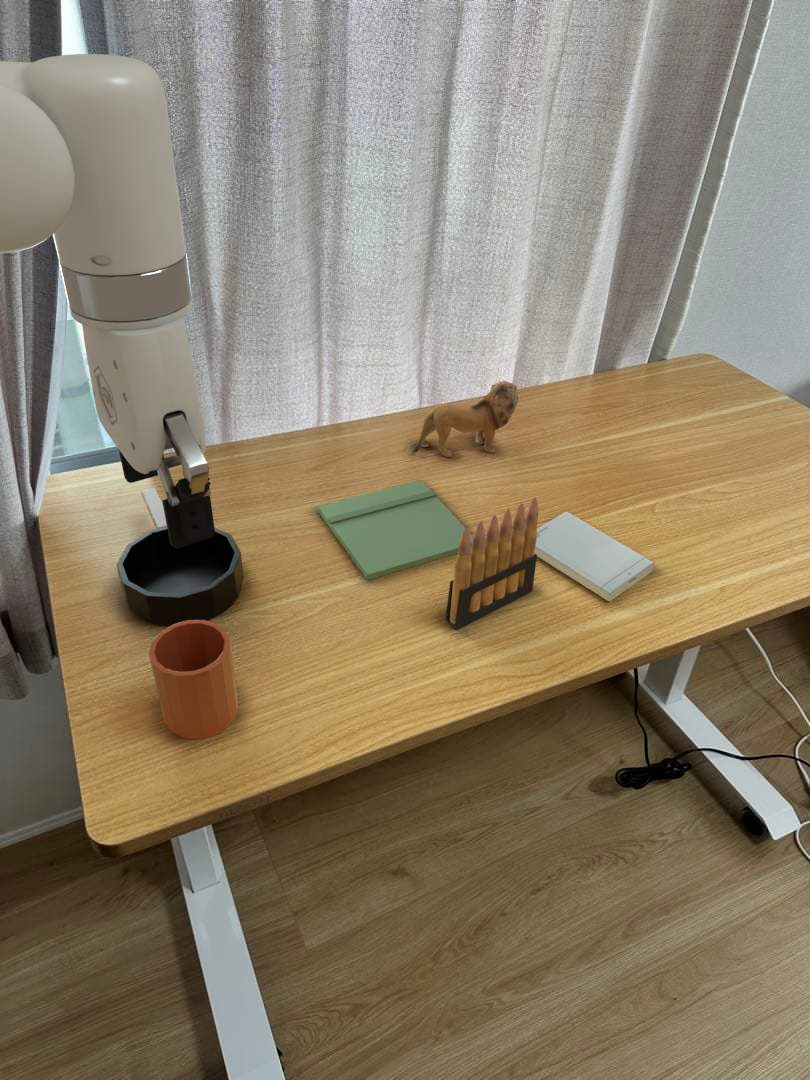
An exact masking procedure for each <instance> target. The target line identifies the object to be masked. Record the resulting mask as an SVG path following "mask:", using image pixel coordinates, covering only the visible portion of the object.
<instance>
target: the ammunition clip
mask: <svg viewBox="0 0 810 1080" xmlns="http://www.w3.org/2000/svg"><path fill="white" fill-rule="evenodd" d="M538 502H539V501H538V499H537V498H536V497H533V499H531V501H530V504H529V505H528V507H527V510H526V508H525V505H524V503H523V502H522V503H520V504H519V505H518V506H517V508H516V511H515V513H514V517H513V516H512V512H511V510H510V509H509V508H508V509H506V510H505V512H504V513H503V515H502V518H501V522H500V525H499V519H498V517H497V515H495V514H493V516H492V517H491V519H490V521H489V523H488V526H487V530H486V529H485V525H484V522H483V521H482V520H480V521H479V522H478V523H477V525H476V527H475V529H474V533H473V543H472V547H471V535H470V533H471V530H470V529H469V527H467V526H466V527H465V529H464V531H463V533H462V536H461V539H460V543H459V549H458V553H457V555H456V559H455V562H454V568H453V578H452V579H453V580H451V581H449V588H448V596H447V603H446V610H445V619H444V620H445V621H446V622H447V623H448V624H450V626H452V627H453V629H455V630H460V629H462V628H464V627H466V626H468V625H470V624H472V623H473V622H475V621H478V620H480V619H481V618H484V617H486V616H487V615H490V614H491V613H494V612H495V611H497V610H499V609H501V608H503V607H505V606H507V605H508V604H510V603H512V602H514V601H516V600H519V599H520V598H522V597H524V596H527V595H528V594H530V593H532V592H533V588H534V582H535V575H536V567H537V560H538V559H537V558H538V556H537V555H536V554H534V552H535V546H536V540H537V528H538V522H539V521H538V520H539V503H538Z"/></svg>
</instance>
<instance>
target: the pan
mask: <svg viewBox="0 0 810 1080" xmlns="http://www.w3.org/2000/svg"><path fill="white" fill-rule="evenodd" d="M140 493H141V497H142V499H143V501H144V504H145V506H146V508H147V511H148V513H149V516H150V519H151V520H152V522H153V525H154V527H155V528H154V529H150V530H148V531H147V532H145V533H144V534H141V535H140V536H139V537H137V538H136V539H134V540H133V541H130V543H128V544H127V545H126V546H125V548H124V549H123V552H122V554H121V556H120V557H119V559H118V561H117V563H116V569H117V573H118V577H119V581H120V582H119V583H120V586H121V590H122V593H123V597H124V598H125V602H126V605H127V607H128V609H129V610H130V611H131V613H132V614H133V615H135V617H137V618H139V619H140V620H142V621H144V622H146V623H148V624H151V625H154V626H159V627H165V628H168V627H169V626H171V625H173V624H176V623H180V622H183V621H187V620H205V621H208V622H209V620H212V619H214V618H216V617H218V616H220V615H221V614H223V613H224V612H225V611H227V610H228V609H230V608H231V607H232V606H233V604H235V602H236V601H237V600H238V598H239V597H240V594H241V592H242V588H243V580H244V576H245V575H244V568H243V559H242V551H241V550H240V548H239V547H238V544H237V541H236V540H235V539H234V537H233V535H232V534H230V533H228V532H225V531H223V530H221V529H219V528H217V527H215V526H214V528H215V534H214V536H213V537H211V538H208V539H205V540H202V541H199V542H196V543H193V544H190V545H187V546H184V547H181V548H178V549H175V548H173V546H172V545H171V544H170V540H169V535H168V529H167V524H166V518H165V513H164V507H163V502H162V499H161V497H160V495H159V493H158V490H157V488H156V486H154V487H149V488H145V489H141V490H140Z"/></svg>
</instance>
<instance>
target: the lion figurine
mask: <svg viewBox="0 0 810 1080" xmlns="http://www.w3.org/2000/svg"><path fill="white" fill-rule="evenodd" d="M517 391H518V386H517V385H516V384H514V383H512V382H509V381H507V380H502V381H499V382H496V383H494V384H492V385H491V386H490V391H489V392H488V393H487V394H484V396H483V397H482V400H480V401H479V402H477V403H476V404H472V405H455V404H452V403H441V404H438V405H435V406H434V407H432V409H430V411H428V412H427V414H426V416H425V417H424V419H423V423H422V426H421V429H420V432H419V433H420V434H419V439H418V441H417V443H416V445H414V448H413V449H412V450H411V453H418V452H419V450H420V448H421V447H422V448H427V447H429V446H430V442H429V441H428V440H426V438H427V437H428V436H429V435H430V434H432V433H434V432H435V431H436V433H437V436H438V440H437V444H436V445H437V447H438V449H439V451H440V452H441V454H442V455H443V456H444V457H446V458H451V457H453V452H452V450H450V449H447V447H446V442H447V440H448V438H449V436H450V435H451V431H452V428H453V429H455V430H456V431H458V432H461V433H467V434H468V433H470V434H471V433H475V442H476V443H477V444H479V445H483V444H484V445H483V446H484V448H485V451H486V452H487V453H489V454H494V453H495V452H496V448H495V447H494V446H492V444H493V441H494V439H495V434H496V431H497V430H499V429H501V428H504V427H505V426H506V425H507V424H508V423H509V422H510V420H511V418H512V416H513V414H514V413H515V410H516V407H517V405H518V403H519V395H518V392H517Z"/></svg>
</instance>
